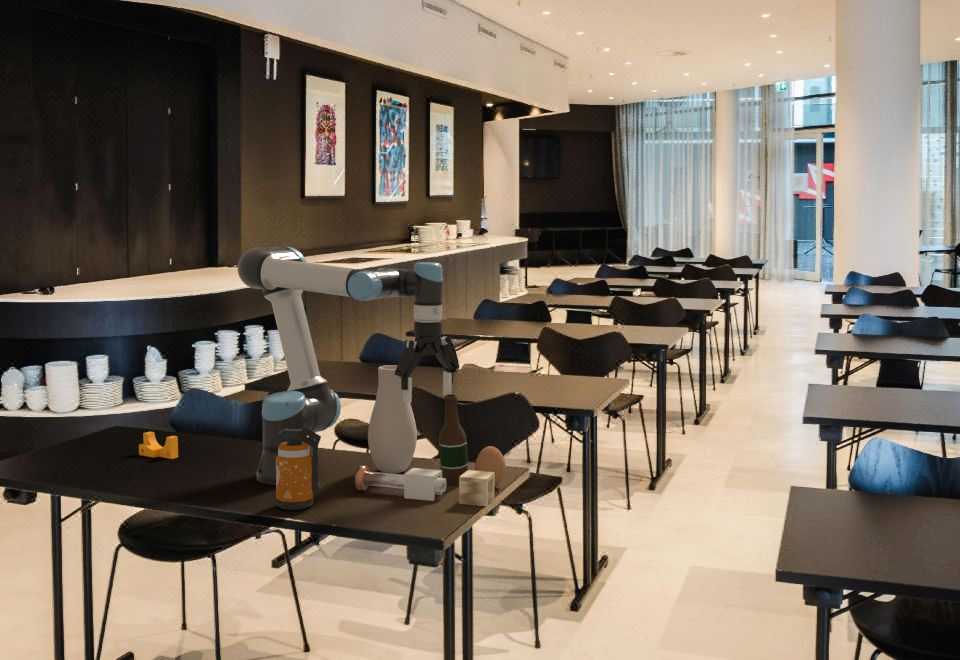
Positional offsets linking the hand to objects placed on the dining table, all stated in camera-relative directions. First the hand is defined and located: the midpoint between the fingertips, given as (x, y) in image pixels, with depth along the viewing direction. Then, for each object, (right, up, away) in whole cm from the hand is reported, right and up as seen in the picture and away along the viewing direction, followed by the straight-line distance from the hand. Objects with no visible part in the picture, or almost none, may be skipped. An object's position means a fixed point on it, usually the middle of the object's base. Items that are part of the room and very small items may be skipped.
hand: (427, 399), depth 279 cm
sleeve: (-1, -25, -9) cm, 26 cm away
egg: (+17, -24, 0) cm, 29 cm away
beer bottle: (+7, -23, +6) cm, 25 cm away
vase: (-11, -22, +16) cm, 29 cm away
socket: (+13, -25, -13) cm, 31 cm away
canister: (-31, -26, -20) cm, 45 cm away
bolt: (-6, -24, -8) cm, 26 cm away
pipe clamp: (-82, -19, +31) cm, 90 cm away
